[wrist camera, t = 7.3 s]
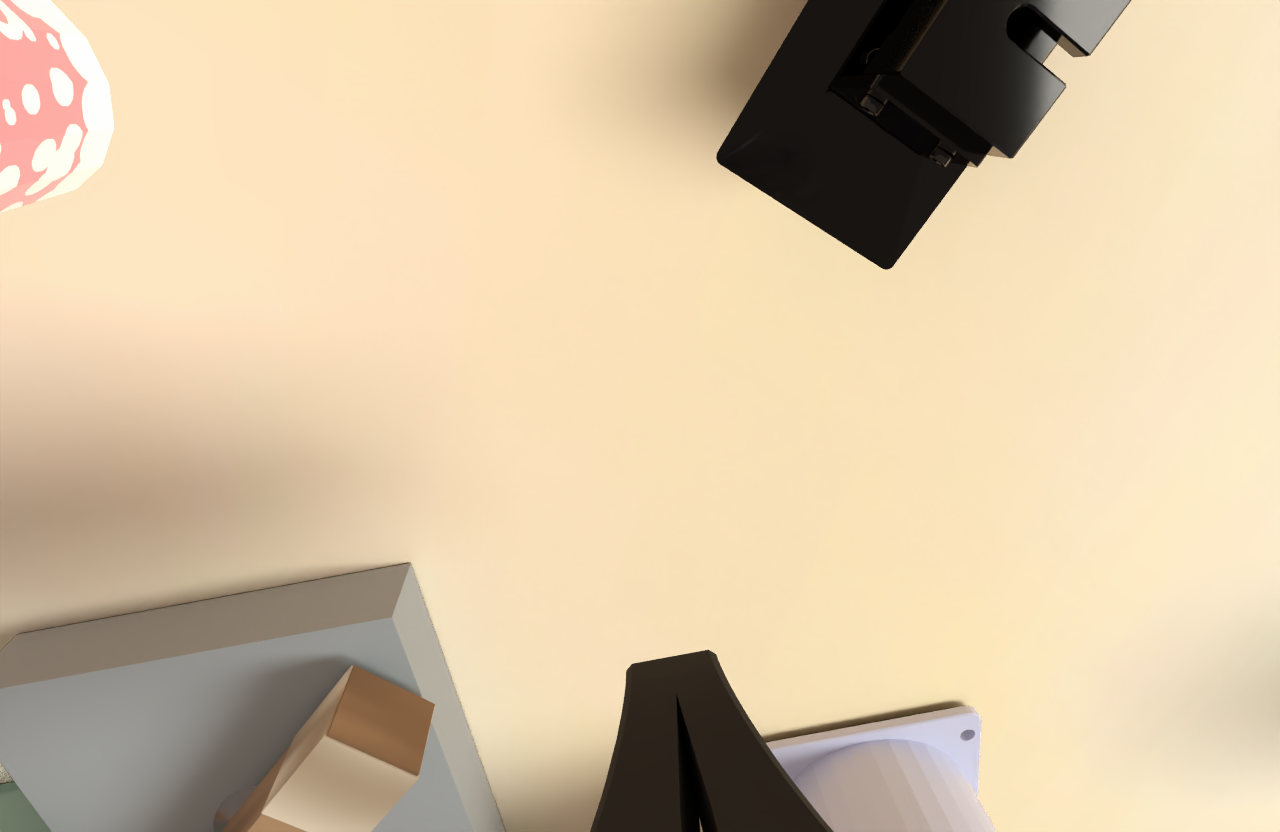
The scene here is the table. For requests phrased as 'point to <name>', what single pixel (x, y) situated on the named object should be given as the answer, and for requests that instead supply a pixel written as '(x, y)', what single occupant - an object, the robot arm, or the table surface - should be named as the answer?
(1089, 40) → the black blocky device
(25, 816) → the teal dish
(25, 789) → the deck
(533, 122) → the table surface
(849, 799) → the robot arm
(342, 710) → the lever
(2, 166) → the beverage cup
